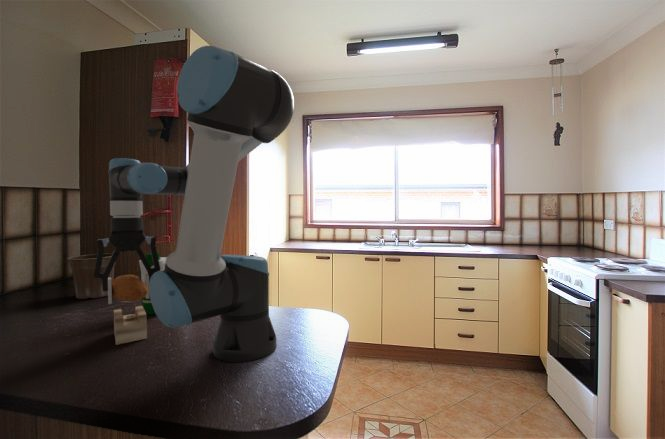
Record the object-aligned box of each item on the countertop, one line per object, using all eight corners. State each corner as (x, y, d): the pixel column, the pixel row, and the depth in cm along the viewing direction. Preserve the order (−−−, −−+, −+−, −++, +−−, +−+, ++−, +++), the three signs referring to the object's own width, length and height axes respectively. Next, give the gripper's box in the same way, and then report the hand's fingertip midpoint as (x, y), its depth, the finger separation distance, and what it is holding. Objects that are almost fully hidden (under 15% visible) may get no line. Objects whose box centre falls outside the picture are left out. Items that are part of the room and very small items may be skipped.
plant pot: (58, 299, 128) (57, 258, 128) (98, 289, 144) (97, 252, 143) (89, 302, 124) (88, 259, 123) (127, 292, 139) (126, 253, 139)
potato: (133, 294, 97) (133, 270, 97) (153, 302, 89) (152, 275, 89) (105, 299, 92) (104, 274, 91) (123, 308, 84) (123, 280, 83)
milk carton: (137, 315, 108) (135, 254, 108) (154, 306, 117) (153, 250, 117) (162, 315, 107) (160, 254, 107) (178, 307, 116) (176, 250, 116)
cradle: (147, 338, 88) (146, 314, 88) (115, 344, 84) (115, 319, 84) (143, 327, 97) (142, 305, 96) (114, 332, 93) (113, 310, 92)
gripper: (167, 215, 99) (168, 291, 99) (79, 217, 87) (82, 303, 87) (171, 216, 92) (173, 297, 93) (77, 218, 80) (80, 310, 81)
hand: (129, 299), depth 90 cm, fingers closed on potato, 8 cm apart
